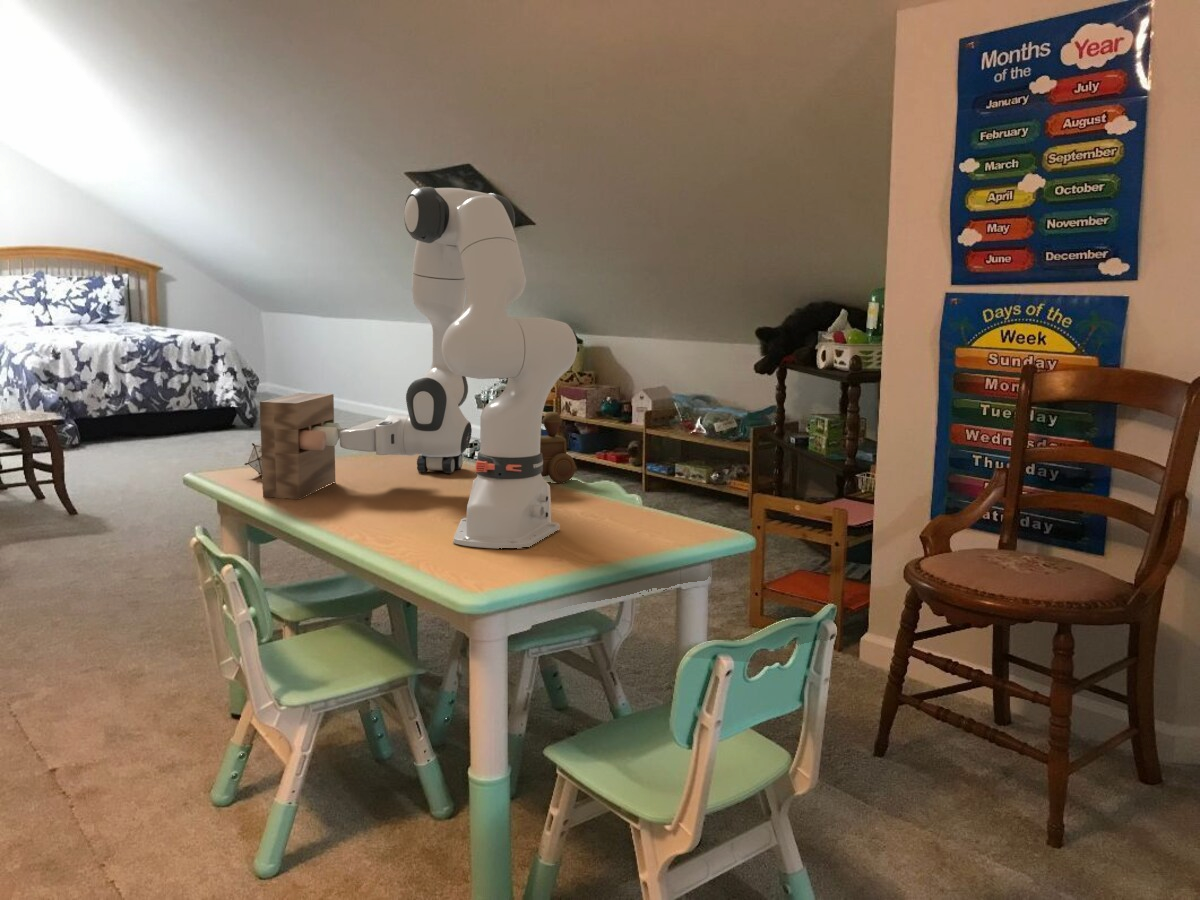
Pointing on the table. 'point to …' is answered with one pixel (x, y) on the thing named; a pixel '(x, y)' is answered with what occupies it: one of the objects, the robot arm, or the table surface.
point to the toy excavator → (439, 463)
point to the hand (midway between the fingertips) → (337, 431)
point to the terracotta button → (312, 440)
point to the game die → (256, 459)
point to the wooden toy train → (555, 451)
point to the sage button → (332, 425)
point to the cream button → (328, 434)
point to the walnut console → (295, 445)
